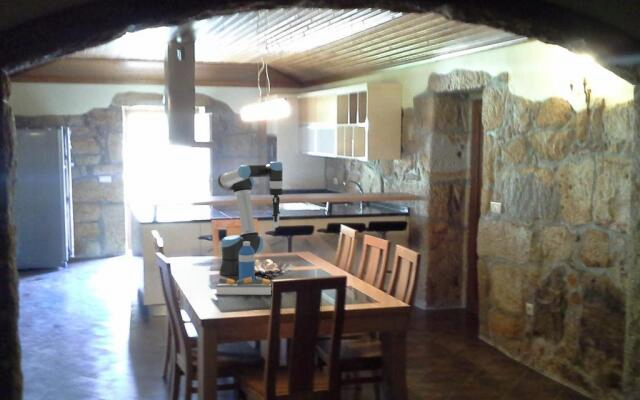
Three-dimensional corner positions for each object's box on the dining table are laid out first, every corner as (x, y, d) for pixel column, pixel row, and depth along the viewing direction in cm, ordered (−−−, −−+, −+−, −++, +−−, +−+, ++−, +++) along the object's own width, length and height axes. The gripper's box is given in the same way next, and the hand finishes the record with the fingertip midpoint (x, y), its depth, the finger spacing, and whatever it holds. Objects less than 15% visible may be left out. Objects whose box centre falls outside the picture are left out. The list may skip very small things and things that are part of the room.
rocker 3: (255, 279, 387) (256, 276, 387) (269, 283, 387) (270, 280, 387) (254, 281, 382) (255, 278, 382) (268, 285, 382) (269, 282, 382)
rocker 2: (238, 283, 387) (237, 280, 387) (252, 279, 387) (251, 276, 387) (237, 285, 382) (236, 281, 382) (251, 281, 382) (250, 278, 382)
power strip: (219, 290, 390) (219, 281, 390) (272, 290, 390) (272, 281, 390) (216, 294, 380) (216, 285, 380) (270, 294, 380) (270, 285, 380)
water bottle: (240, 286, 399) (239, 243, 397) (237, 282, 408) (237, 241, 406) (256, 285, 402) (255, 243, 399) (253, 281, 411) (253, 240, 408)
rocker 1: (220, 279, 387) (220, 276, 387) (233, 283, 387) (234, 280, 387) (218, 281, 382) (219, 278, 382) (232, 285, 382) (233, 281, 382)
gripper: (271, 186, 417) (271, 223, 419) (268, 189, 395) (268, 228, 397) (283, 186, 417) (283, 223, 419) (281, 189, 395) (281, 228, 397)
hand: (276, 225), depth 408 cm, fingers open, 9 cm apart
